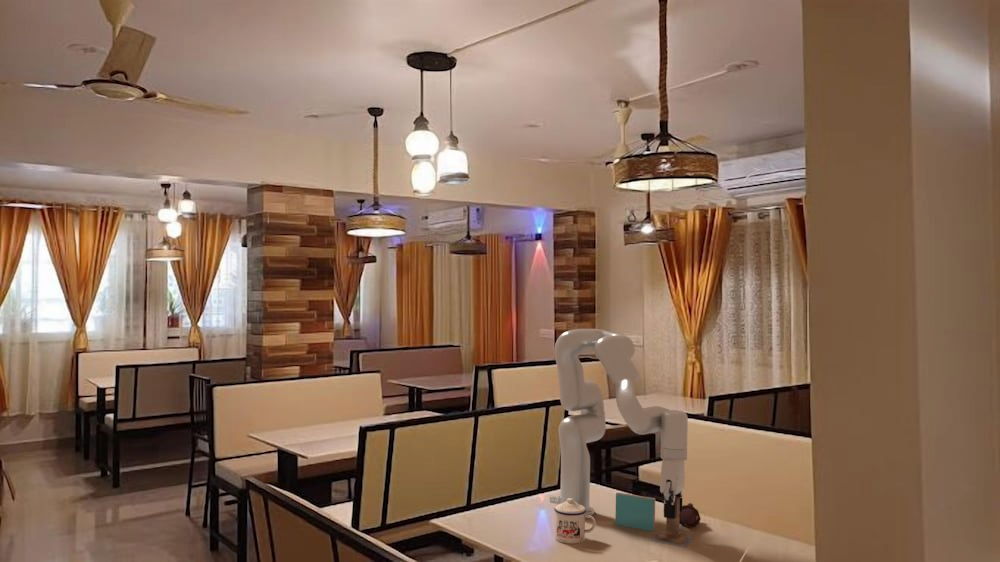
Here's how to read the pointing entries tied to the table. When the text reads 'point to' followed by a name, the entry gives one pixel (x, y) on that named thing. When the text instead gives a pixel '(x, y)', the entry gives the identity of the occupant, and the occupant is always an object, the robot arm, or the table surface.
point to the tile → (635, 511)
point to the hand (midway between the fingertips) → (673, 513)
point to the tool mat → (672, 542)
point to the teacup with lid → (571, 522)
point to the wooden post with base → (673, 527)
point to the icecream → (689, 516)
